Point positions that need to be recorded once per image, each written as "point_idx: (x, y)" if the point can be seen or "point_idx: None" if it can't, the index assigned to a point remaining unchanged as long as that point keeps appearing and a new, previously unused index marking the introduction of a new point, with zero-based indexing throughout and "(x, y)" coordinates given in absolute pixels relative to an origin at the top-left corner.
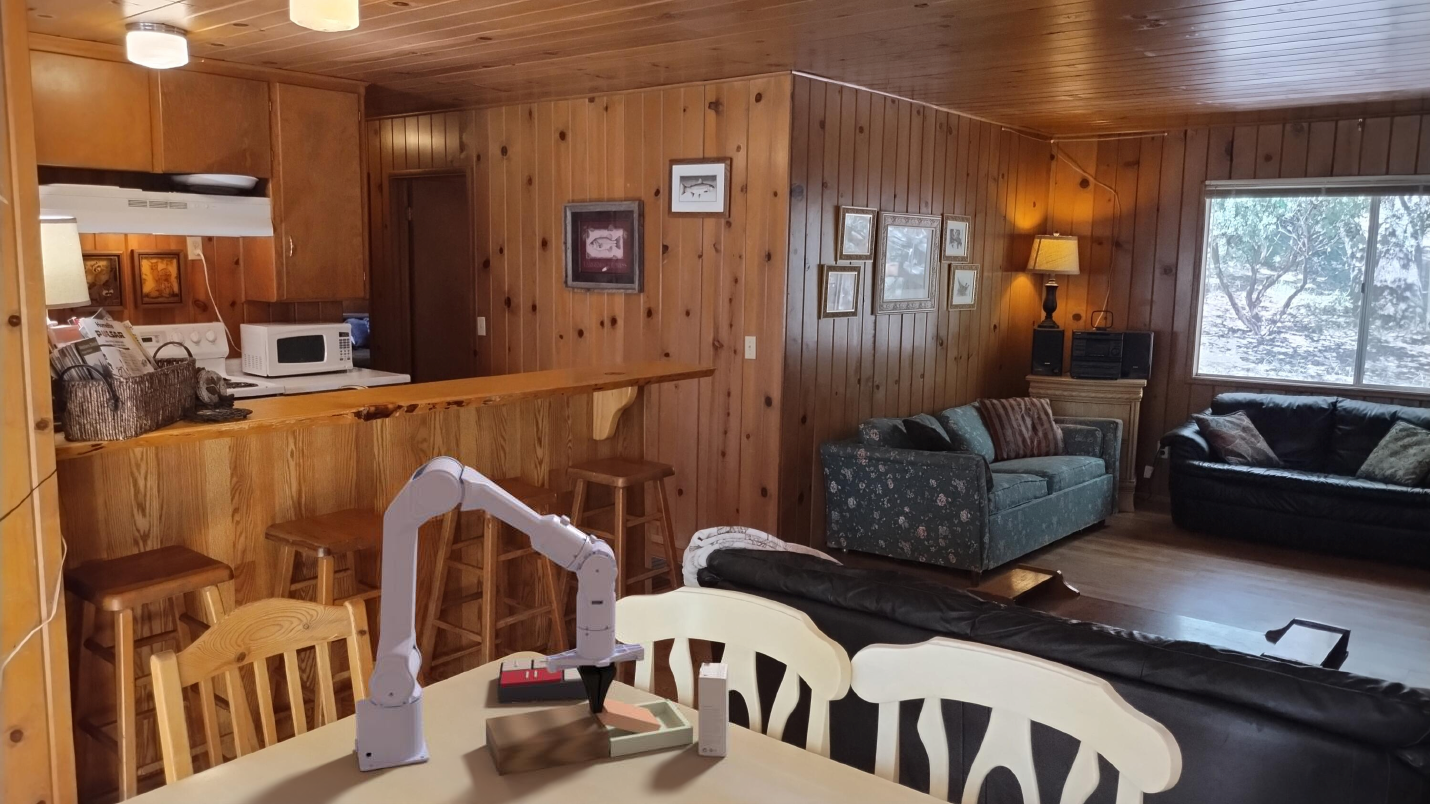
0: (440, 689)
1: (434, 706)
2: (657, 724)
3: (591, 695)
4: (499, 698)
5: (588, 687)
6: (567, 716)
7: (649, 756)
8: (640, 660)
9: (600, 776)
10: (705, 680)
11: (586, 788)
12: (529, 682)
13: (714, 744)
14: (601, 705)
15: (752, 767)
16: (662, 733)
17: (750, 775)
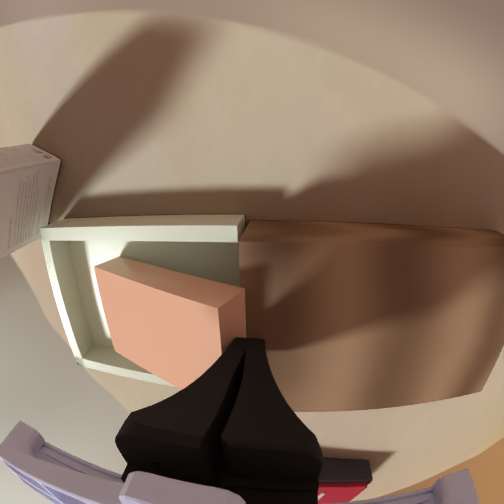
0: (410, 482)
1: (442, 455)
2: (99, 268)
3: (271, 379)
4: (369, 466)
5: (287, 405)
6: (330, 369)
7: (152, 185)
8: (29, 426)
9: (302, 124)
10: None
11: (352, 82)
12: (324, 485)
13: (25, 151)
14: (233, 349)
15: (15, 100)
16: (96, 225)
17: (25, 73)
